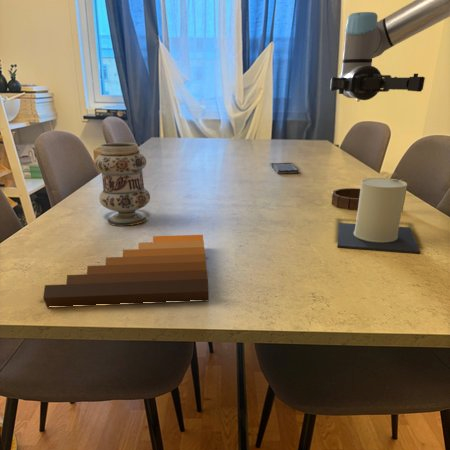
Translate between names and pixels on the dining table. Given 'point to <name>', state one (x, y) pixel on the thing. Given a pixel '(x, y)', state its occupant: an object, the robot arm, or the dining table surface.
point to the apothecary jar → (123, 182)
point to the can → (379, 209)
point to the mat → (348, 240)
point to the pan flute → (140, 276)
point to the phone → (284, 168)
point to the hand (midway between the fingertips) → (387, 84)
